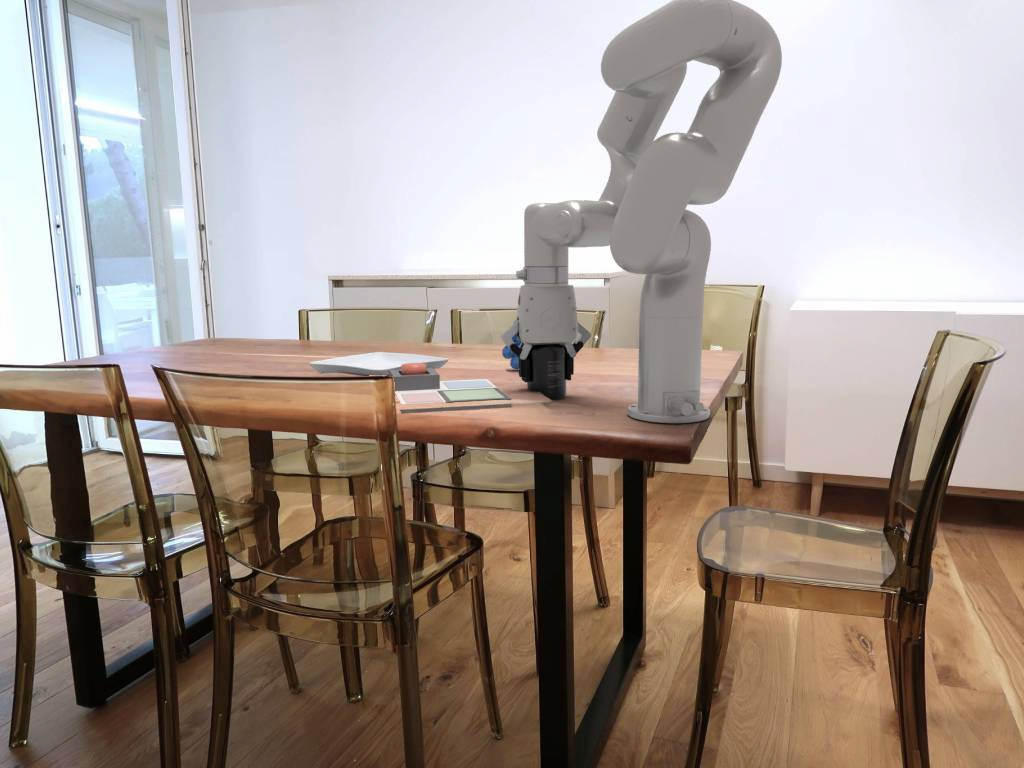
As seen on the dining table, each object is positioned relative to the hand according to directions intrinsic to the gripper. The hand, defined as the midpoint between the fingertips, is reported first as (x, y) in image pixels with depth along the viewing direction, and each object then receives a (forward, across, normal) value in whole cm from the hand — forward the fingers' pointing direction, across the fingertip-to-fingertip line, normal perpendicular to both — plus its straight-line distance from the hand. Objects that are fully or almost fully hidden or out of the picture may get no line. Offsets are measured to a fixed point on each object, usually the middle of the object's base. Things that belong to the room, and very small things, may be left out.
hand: (546, 379), depth 144 cm
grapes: (+3, +5, +30) cm, 31 cm away
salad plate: (+4, -26, +35) cm, 44 cm away
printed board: (+3, -17, +3) cm, 18 cm away
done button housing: (+2, -22, +9) cm, 24 cm away
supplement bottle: (+3, 0, 0) cm, 3 cm away
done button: (0, -22, +9) cm, 24 cm away
